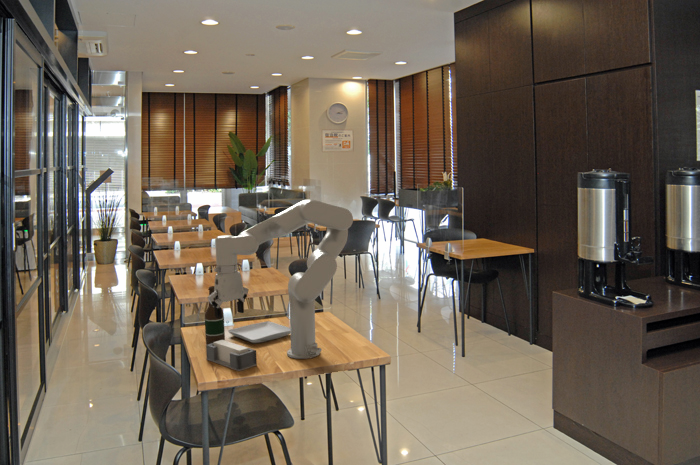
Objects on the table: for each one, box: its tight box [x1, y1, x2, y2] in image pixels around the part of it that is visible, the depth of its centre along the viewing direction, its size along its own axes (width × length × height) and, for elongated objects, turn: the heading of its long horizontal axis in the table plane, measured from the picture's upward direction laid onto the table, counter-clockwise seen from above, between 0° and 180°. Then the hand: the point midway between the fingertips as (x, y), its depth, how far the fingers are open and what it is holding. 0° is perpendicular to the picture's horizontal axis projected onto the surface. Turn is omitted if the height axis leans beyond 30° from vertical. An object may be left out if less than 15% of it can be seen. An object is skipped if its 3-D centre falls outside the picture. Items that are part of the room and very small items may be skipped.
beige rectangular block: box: [214, 339, 249, 363], centre depth 205 cm, size 16×4×6 cm, turn 48°
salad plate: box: [227, 320, 290, 344], centre depth 239 cm, size 21×21×3 cm
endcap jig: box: [205, 343, 258, 372], centre depth 205 cm, size 20×8×6 cm, turn 48°
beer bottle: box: [204, 285, 226, 346], centre depth 228 cm, size 8×8×24 cm
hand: (229, 315), depth 204 cm, fingers open, 9 cm apart
